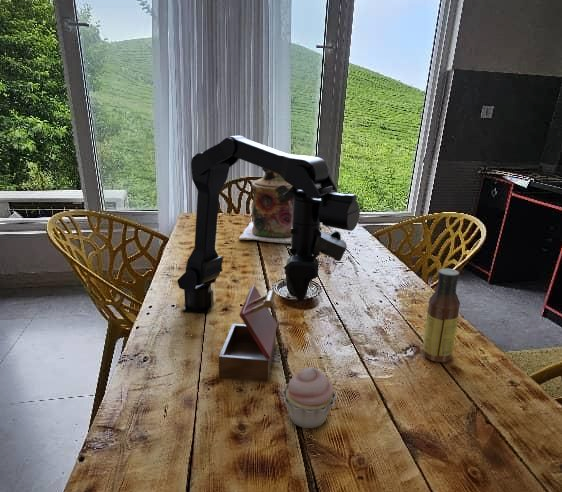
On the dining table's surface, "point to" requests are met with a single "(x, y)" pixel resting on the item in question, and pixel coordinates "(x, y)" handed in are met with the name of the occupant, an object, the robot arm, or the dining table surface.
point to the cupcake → (309, 398)
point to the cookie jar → (270, 210)
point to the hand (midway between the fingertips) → (301, 292)
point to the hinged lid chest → (243, 356)
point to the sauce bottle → (442, 318)
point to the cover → (260, 319)
